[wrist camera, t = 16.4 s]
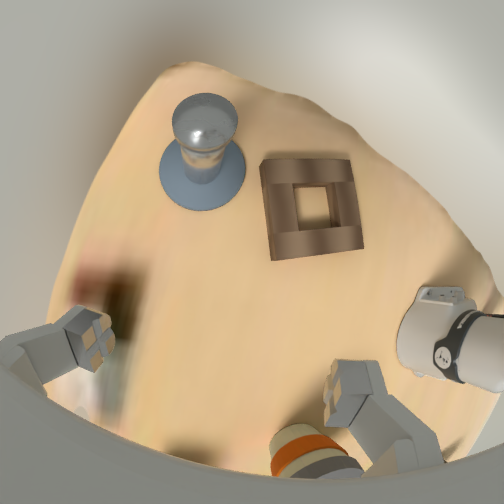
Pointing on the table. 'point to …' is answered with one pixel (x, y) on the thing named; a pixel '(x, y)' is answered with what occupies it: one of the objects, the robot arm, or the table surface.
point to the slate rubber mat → (205, 194)
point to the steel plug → (203, 134)
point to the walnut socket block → (284, 210)
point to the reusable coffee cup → (310, 455)
